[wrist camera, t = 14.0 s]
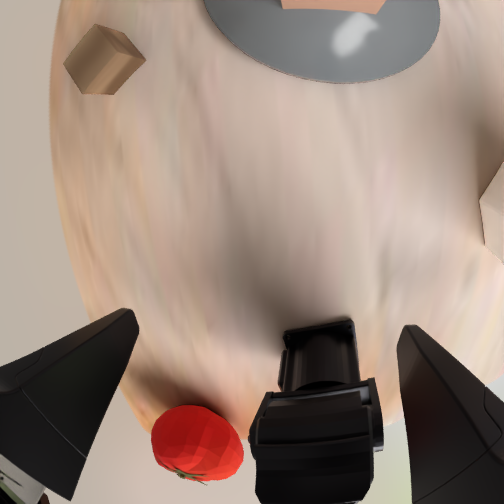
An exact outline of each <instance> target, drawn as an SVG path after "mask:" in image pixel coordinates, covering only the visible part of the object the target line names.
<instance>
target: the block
mask: <svg viewBox="0 0 504 504" xmlns="http://www.w3.org/2000/svg"><path fill="white" fill-rule="evenodd" d="M145 61H146V59H145V58H144V57H143V56H142V54H141V53H140V52H139V51H138V50H137V48H136V47H135V46H134V45H133V44H132V42H131V41H130V40H129V39H128V38H127V36H126V35H125V34H124V33H121V32H118V31H115V30H112V29H109V28H106V27H103V26H100V25H97V24H95V25H94V26H93V27H92V28H91V29H90V30H89V31H88V33H87V34H86V35H85V36H84V37H83V39H82V40H81V41H80V42H79V43H78V45H77V46H76V47H75V48H74V50H73V51H72V52H71V54H70V55H69V56H68V58H67V59H66V60H65V62H64V63H63V65H64V66H65V68H66V69H67V71H68V73H69V74H70V76H71V77H72V79H73V80H74V82H75V84H76V85H77V87H78V88H79V90H80V91H81V93H82V94H108V95H114V93H115V92H116V91H117V90H118V89H119V88H120V87H121V86H122V85H123V84H124V82H125V81H126V80H127V79H128V78H129V77H130V76H131V75H132V74H133V73H134V72H135V71H136V70H137V69H138V68H139V67H140V66H141V65H142V64H143V63H144V62H145Z"/></svg>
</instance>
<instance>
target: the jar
mask: <svg viewBox="0 0 504 504" xmlns="http://www.w3.org/2000/svg"><path fill="white" fill-rule="evenodd" d="M479 203H480V209H481V215H482V222H483V230H484V239H485V247H486V248H487V249H488V250H489V251H490V252H491V253H492V254H493V255H494V256H495V257H496V258H497V259H498V260H499V261H501V262H502V263H503V264H504V161H503V163H502V165H501V166H500V168H499V170H498V171H497V173H496V175H495V176H494V178H493V180H492V181H491V183H490V184H489V186H488V187H487V189H486V190H485V192H484V193H483V195H482V196H481V198H480V200H479Z"/></svg>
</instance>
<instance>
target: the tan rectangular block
mask: <svg viewBox="0 0 504 504" xmlns="http://www.w3.org/2000/svg"><path fill="white" fill-rule="evenodd" d="M385 1H386V0H281V3H282V8H283V9H329V10H343V11H353V12H362V13H369V14H377V13H378V11H379V10H380V8H381V7H382V5H383V4H384V3H385Z"/></svg>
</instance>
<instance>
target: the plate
mask: <svg viewBox="0 0 504 504" xmlns="http://www.w3.org/2000/svg"><path fill="white" fill-rule="evenodd" d="M204 2H205V6H206V9H207V11H208V13H209V15H210V17H211V19H212V20H213V22H214V23H215V24H216V26H217V27H218V28H219V30H220V31H221V32H222V33H223V34H224V35H225V36H226V37H227V38H228V39H229V40H230V41H231V42H232V43H233V44H234V45H235V46H236V47H238V48H239V49H240V50H241V51H242V52H244V53H245V54H247V55H248V56H250V57H251V58H253V59H254V60H256V61H258V62H260V63H262V64H264V65H266V66H268V67H270V68H272V69H274V70H277V71H280V72H282V73H285V74H287V75H291V76H294V77H298V78H301V79H306V80H311V81H316V82H324V83H334V84H354V83H364V82H370V81H375V80H380V79H383V78H386V77H389V76H392V75H394V74H396V73H398V72H400V71H402V70H404V69H406V68H408V67H410V66H412V65H413V64H414V63H416V62H417V61H418V60H420V59H421V58H422V57H423V56H424V55H425V54H426V53H427V52H428V51H429V49H430V47H431V46H432V44H433V43H434V41H435V38H436V36H437V33H438V30H439V24H440V8H439V2H438V0H386V1H385V3H384V4H383V5H382V7H381V8H380V10H379V11H378V13H377V14H369V13H362V12H353V11H343V10H329V9H283V8H282V3H281V0H204Z"/></svg>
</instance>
